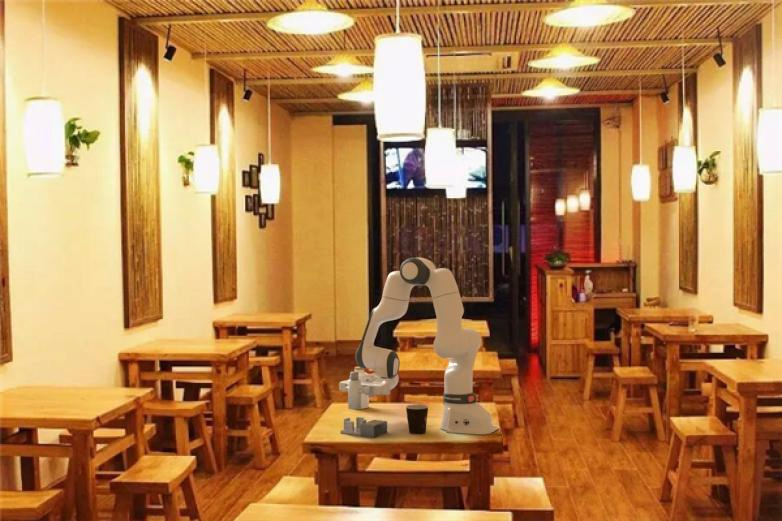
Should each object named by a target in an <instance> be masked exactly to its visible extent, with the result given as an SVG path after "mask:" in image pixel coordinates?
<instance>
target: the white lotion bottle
mask: <svg viewBox="0 0 782 521" xmlns="http://www.w3.org/2000/svg"><path fill="white" fill-rule="evenodd" d="M349 374H350V375H349V378H348V379H347V380H348V392H347V404H348V406H347V408H348V410H362V409H361V393H359V389H360V388H361V379H359V372H355V371H350V372H349Z"/></svg>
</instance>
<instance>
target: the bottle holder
mask: <svg viewBox="0 0 782 521" xmlns="http://www.w3.org/2000/svg"><path fill="white" fill-rule="evenodd" d="M355 421H356V422H355ZM355 421H353V420H351V417H345V418H344V419H343V429H340V434H345V435H353V436H359V437H362V438H370V439H376V438H378V437H380V436H383V435H386V434H387V433H388V420H381V419H380V420H379V419H372V420H370V421H367V419H365V417H361V416H360V417H359V416H357V417H356V418H355Z"/></svg>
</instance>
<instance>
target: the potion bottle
mask: <svg viewBox="0 0 782 521" xmlns="http://www.w3.org/2000/svg"><path fill="white" fill-rule="evenodd" d="M353 372H359V379H361V380H362V378H363V377H364V376H365V375H368V374H369V373H367V372H366V371H365V369H364V368H360V367H359V366H354V371H353ZM369 406H370V396H367V395H365V394H364V393H361V409H360V410H366V409H367V408H369ZM365 408H366V409H365Z"/></svg>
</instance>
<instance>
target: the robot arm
mask: <svg viewBox="0 0 782 521" xmlns="http://www.w3.org/2000/svg"><path fill="white" fill-rule="evenodd" d="M420 286H426V287H428V289H429V291H430V296H431V299H432V304H433V308H434V312H435V315H436V334H435V335H436V336H435V338H434V341H433V345H432V346H433V351H434V352H435V354H436V356H438V357H439V358H441V359H446V360H449V361H448V364H447V366H446V369H445V370H444V374H443V375H444V384H443V385H444V387H443V388H444V391H443V395H442V396H443V399H442V400H443V401H442V402H443V413H442V414H443V416H442V419H441V424H440V429H442V430H444V431H445V432H446V433H450V434H451V433H454V434H467V435H468V434H469V435H489V434H492V432H493V433H494V431H495V430H497V429H499V427H498V425H497V424H493V419H492V418H493V417H492V415H491V413H490V411H488V410H487V409H486V408H485V407H484V406H482V405H481V404H480V403H479V402H478V401H477V400H478V397H479V393H478V394H475V392H473V379H474V378H473V377H474V376H473V375H474V374H473V373H474V367H475V362H476V357H477V354H478V351H479V350H480V348H481V346H482V342H483V341H482V336H481V334H480V333H479V331H478V330H476V329H474V328H470V327H462V325H463V324H462V322H463V321H462V319H463V318H462V317H463V315H464V313H465V308H464V305H463V302H462V298H461V293H460V291H459V290H460V289H459V287H458V284H457V282H456V279H455V277H454V274H453V272H452V271H451V270H450V269H449V268H445V267H441V268H440V267H438V265H437V264H436V263H435V262H434V261H433V260H431V259H428V258H424V257H409V258H406V259H405V260H404V261H403V262H402V263H401V265H400V266H399V270H395V271H391V272H389V274H388V275H387V277H386V281H385V282H384V287H383V291H382V294H381V300H380V302H379V304H378V305H377V306H375V307H374V308H373V309H372V311H371V312H370V315H369V317H368V320H367V323H366V326H365V328H364V331H363V334H362V336H361V337H362V338H361V341H360V343H359V346H358V347H357V349H356V352H355V355H354V359H355V362H356V363H357V365H358V366H357V367H360V368H364V370H372V371H374V372H372V373H367V374H368V375H365V376H364V377H363V378H362V380H361V388H360V389H359V393H364V394H365V395H367V396H369V397H375V396H376V397H377V396H388V395H391V390H393V389H394V388H395V387H396V386H397V385H398V383H399V378H400V376H399V374H398V373H399V371H400V363H401V362H400V358H399V355H398V353H397V352H396V351H395V350H392V349H388V348H383V347H379V346H375V345H374V343H375V341H376V340H375V339H376V337H377V334H378V332H379V328H380V326H381V325H382V324H383V323H386V322H390V321H394V320H398V319H400V318H402V317H403V316H405V315H406V313H407V311H408V308H409V302H410V296H411V292H412V289H413V288H414V287H420ZM348 380H349V379H346V380H342V381H340V382H339V384H338V385H339V388H338V389H339V391H341V392H346V393H348ZM497 431H498V430H497ZM495 432H496V431H495Z"/></svg>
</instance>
